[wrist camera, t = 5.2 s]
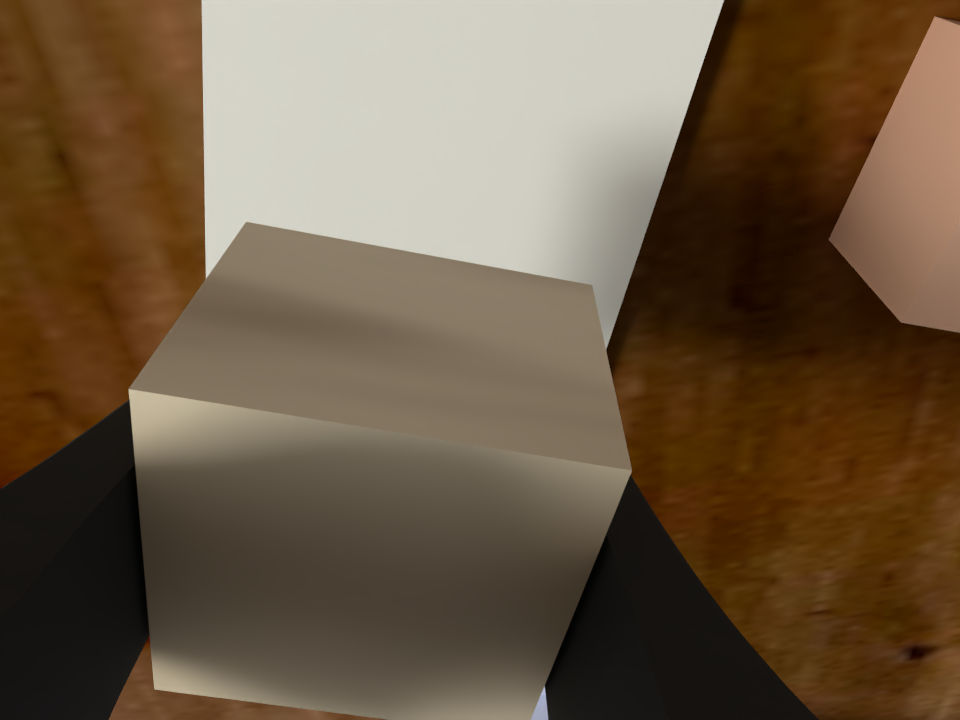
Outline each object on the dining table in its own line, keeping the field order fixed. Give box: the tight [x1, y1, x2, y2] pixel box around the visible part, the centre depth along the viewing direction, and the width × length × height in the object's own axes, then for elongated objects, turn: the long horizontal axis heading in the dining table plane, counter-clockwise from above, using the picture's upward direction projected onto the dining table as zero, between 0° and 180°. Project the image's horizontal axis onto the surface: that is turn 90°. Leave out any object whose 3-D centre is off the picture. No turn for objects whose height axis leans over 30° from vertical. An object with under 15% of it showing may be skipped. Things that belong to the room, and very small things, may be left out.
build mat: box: [202, 0, 724, 349], centre depth 18 cm, size 16×10×1 cm, turn 169°
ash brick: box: [129, 222, 632, 720], centre depth 10 cm, size 5×5×4 cm
